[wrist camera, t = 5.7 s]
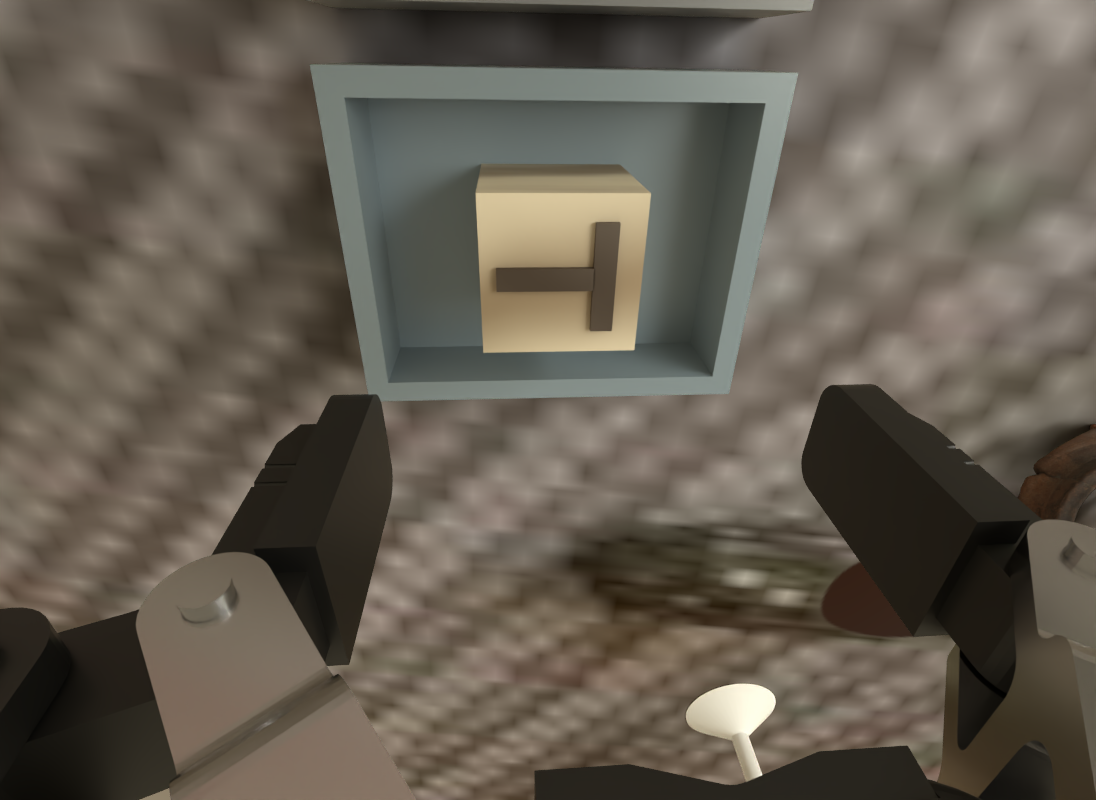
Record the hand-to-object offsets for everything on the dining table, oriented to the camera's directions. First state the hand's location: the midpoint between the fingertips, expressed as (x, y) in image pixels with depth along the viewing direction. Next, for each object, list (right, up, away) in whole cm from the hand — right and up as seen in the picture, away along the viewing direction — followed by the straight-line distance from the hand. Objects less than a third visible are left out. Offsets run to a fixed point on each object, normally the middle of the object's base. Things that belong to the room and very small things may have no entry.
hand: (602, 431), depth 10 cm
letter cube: (-1, +7, +11) cm, 13 cm away
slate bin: (-1, +7, +12) cm, 14 cm away
